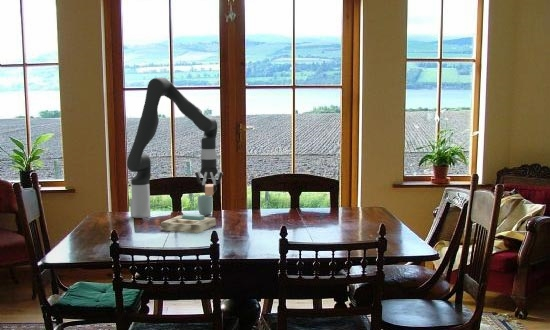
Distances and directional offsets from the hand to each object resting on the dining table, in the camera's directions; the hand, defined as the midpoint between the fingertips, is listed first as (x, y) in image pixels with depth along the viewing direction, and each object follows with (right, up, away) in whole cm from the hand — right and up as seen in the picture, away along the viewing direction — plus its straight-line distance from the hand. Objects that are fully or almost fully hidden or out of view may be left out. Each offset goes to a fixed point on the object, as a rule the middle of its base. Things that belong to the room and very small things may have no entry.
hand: (209, 192), depth 271 cm
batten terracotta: (0, -1, 0) cm, 1 cm away
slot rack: (-9, -16, -9) cm, 21 cm away
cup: (-5, -13, +21) cm, 25 cm away
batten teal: (-7, -15, -5) cm, 17 cm away
